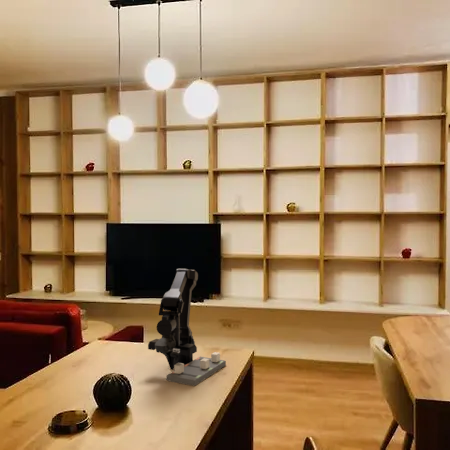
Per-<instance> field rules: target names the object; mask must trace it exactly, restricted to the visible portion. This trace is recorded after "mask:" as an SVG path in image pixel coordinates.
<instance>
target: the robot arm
mask: <svg viewBox="0 0 450 450" xmlns="http://www.w3.org/2000/svg"><path fill="white" fill-rule="evenodd" d="M198 279H199V273H198V271H196V270H195V269H188V268H176V270H175V277H174V279H173V280H172V284H171V286H170V289H169V290H168V291H166V292H165V293H164V294H163V297H162V298H161V300H160V305H159V310H158V316H161V320H159V321H158V322H157V325H156V331H157V333H158V334H160V335H161V338H155V339H153V340H150V341H149V342H148V344H147V349H148V350H151V351H156V353H161V354H162V355H164V356H165V358H166V360H167V363H168V367H169V368H170V370H174V365H175V364H177V363H183V364H184V365H186V364H188V363H189V362H191V361H193V360H194V354H196V353H197V352H198V347H197V345H196V344H195V343H196V341H195V339H194V335H193V331H192V329H191V327H190V317H191V316H190V315H191V314H190V313H191V304H192V303H191V302H192V294H193V293H192V291H193V290H194V288H195V287H196V286H197V282H198Z"/></svg>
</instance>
